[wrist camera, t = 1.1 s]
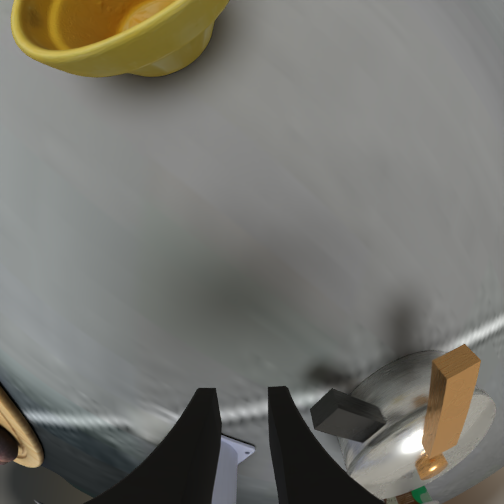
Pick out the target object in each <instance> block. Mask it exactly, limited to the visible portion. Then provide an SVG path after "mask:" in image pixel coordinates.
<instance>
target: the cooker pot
mask: <svg viewBox="0 0 504 504" xmlns="http://www.w3.org/2000/svg"><path fill="white" fill-rule="evenodd" d="M444 354H446V353H444V352H440V351H423V352H417V353H414V354H411V355H407V356H405V357H402V358H400V359H398V360H396V361H394V362H392V363H390V364H388V365H386V366H385V367H383V368H381V369H380V370H378V371H377V372H375V373H374V374H372V375H371V376H370V377H368V378H367V379H366V380H365V381H363V382H362V383H361V384H360V385H359V386H358V387H357V388H356V389H355V390H354V391H353V392H352V393H351V394H350V395H347V394H345V393H342V392H340V391H337V390H335V389H333V388H332V389H331V390H330V391H329V392H328V393H327V394H325V395H324V396H323V397H322V398H321V399H320V400H319V401H318V402H317V403H316V404H315V405H314V406H313V407H312V408H311V409H310V412H311V416H312V421H313V425H314V429H315V430H318V431H321V432H325V433H328V434H331V435H335V436H337V437H338V440H339V444H340V447H341V451H342V455H343V458H344V462H345V465H346V469H348V467H349V465H350V463H351V462H352V461H353V459H354V458H355V457H356V456H357V455H358V453H359V452H360V451H361V450H362V449H363V448H364V447H366V446H367V445H368V444H369V443H370V442H371V441H372V440H374V439H375V438H376V437H377V436H378V435H380V434H381V433H383V432H384V431H385V430H386V429H388V428H389V427H391V426H392V425H394V424H395V423H397V422H398V421H400V420H401V419H403V418H404V417H406V416H407V415H409V414H411V413H412V412H414V411H416V410H418V409H419V408H421V407H423V406H425V405H427V404H428V398H429V389H430V380H431V369H432V360H434V359H436V358H438V357H440V356H442V355H444ZM475 388H478V387H477V386H476V385H475ZM478 389H479V388H478Z"/></svg>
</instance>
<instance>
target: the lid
mask: <svg viewBox="0 0 504 504" xmlns="http://www.w3.org/2000/svg"><path fill="white" fill-rule="evenodd" d="M480 363H481V360H480V359H479V358H478V357H477V356H476V355H475V354H474V353H473V352H472V351H471V350H470V349H469V348H468V347H467V346H466V345H465V344H464V345H462V346H460V347H458V348H456V349H454V350H452V351H450V352H448V353H446V354H444V355H442V356H440V357H438V358H436V359H434V360H432V369H431V380H430V389H429V398H428V404H427V405H425V406H423V407H421V408H419V409H418V410H416V411H414V412H412V413H411V414H409V415H407V416H406V417H404V418H403V419H401V420H400V421H398V422H397V423H395V424H394V425H392V426H391V427H389V428H388V429H386V430H385V431H384V432H383V433H381V434H380V435H378V436H377V437H376V438H375V439H374V440H372V441H371V442H370V443H369V444H368V445H367V446H366V447H364V448H363V449H362V450H361V451H360V452H359V453H358V455H357V456H356V457H355V458H354V459H353V461H352V462H351V463H350V465H349V467H348V469H347V471H346V473H347V474H348V475H349V476H350V477H352V478H353V479H354V480H355V481H356V482H358V483H359V484H360V485H361V486H363V487H364V488H365V489H366V490H367V491H369V492H370V493H372V494H373V495H374V496H376V497H377V498H379V499H386V498H391V497H395V496H398V495H402V494H405V493H407V492H410V491H413V490H415V489H417V488H420V487H422V486H424V485H426V484H428V483H430V482H431V481H433V480H435V479H437V478H438V477H440V476H441V475H443V474H445V473H446V472H447V471H449V470H450V469H452V468H453V467H454V466H456V465H457V464H458V463H459V462H460V461H462V460H463V459H464V458H465V457H466V456H467V455H468V454H469V453H470V452H471V451H472V450H473V449H474V448H475V447H476V446H477V445H478V444H479V442H480V441H481V440H482V439H483V437H484V436H485V434H486V433H487V431H488V430H489V428H490V426H491V424H492V422H493V420H494V417H495V413H496V405H495V403H494V401H493V400H492V399H491V398H490V396H489V395H488V394H487V393H486V392H485V391H484V390H482V389H478V388H475V385H476V381H477V376H478V372H479V367H480Z"/></svg>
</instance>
